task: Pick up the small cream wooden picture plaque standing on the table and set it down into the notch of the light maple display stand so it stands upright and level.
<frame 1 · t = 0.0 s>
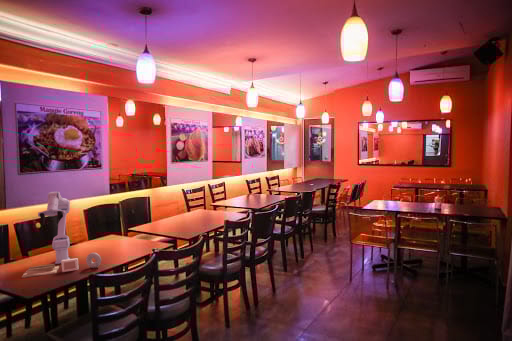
hand: (50, 223, 208), 32 cm above the table, tool tilted 50°, fingers open, 7 cm apart
notched stand: (41, 272, 216), on the table
picture plaque: (70, 270, 219), on the table
donut: (94, 268, 222), on the table
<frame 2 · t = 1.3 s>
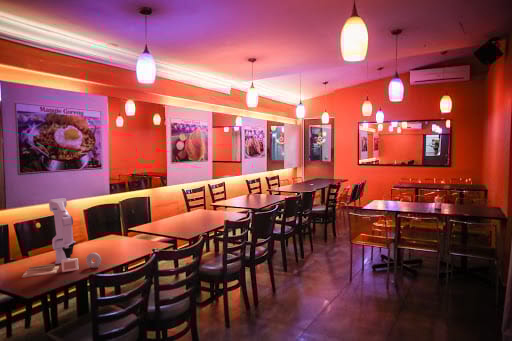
hand: (69, 256, 218), 9 cm above the table, tool pointing down, fingers open, 7 cm apart
nothing on the table moved.
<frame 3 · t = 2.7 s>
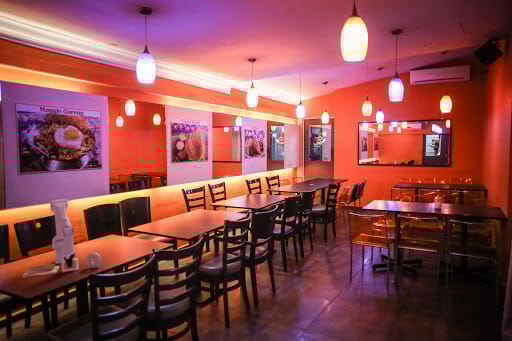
hand: (70, 266, 218), 2 cm above the table, tool pointing down, fingers closed on picture plaque, 2 cm apart
picture plaque: (70, 270, 219), on the table, touching gripper
everything else where it was.
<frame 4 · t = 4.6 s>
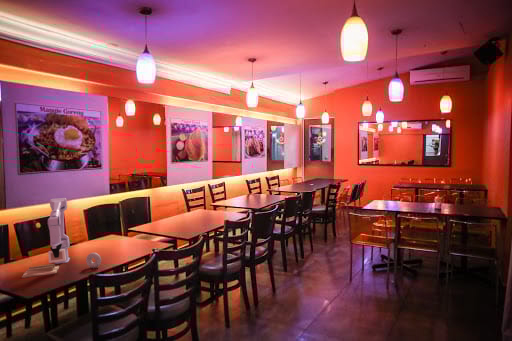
hand: (57, 256, 217), 9 cm above the table, tool pointing down, fingers closed on picture plaque, 2 cm apart
picture plaque: (57, 261, 217), point 6 cm above the table, touching gripper
everything else where it was.
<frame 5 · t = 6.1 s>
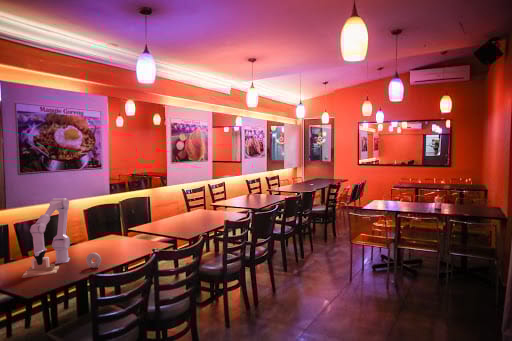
hand: (40, 263, 216), 5 cm above the table, tool pointing down, fingers closed on picture plaque, 2 cm apart
picture plaque: (41, 269, 216), point 2 cm above the table, touching gripper
everything else where it was.
when the fingers open (4 cm above the table, at t = 6.7 s): picture plaque stays where it is, resting on notched stand.
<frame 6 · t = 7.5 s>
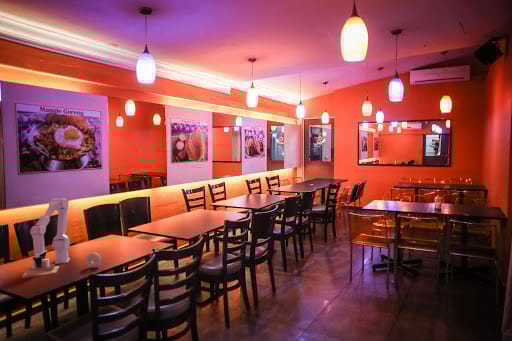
hand: (40, 265, 216), 4 cm above the table, tool pointing down, fingers open, 7 cm apart
picture plaque: (41, 270, 216), point 1 cm above the table, touching notched stand
everything else where it was.
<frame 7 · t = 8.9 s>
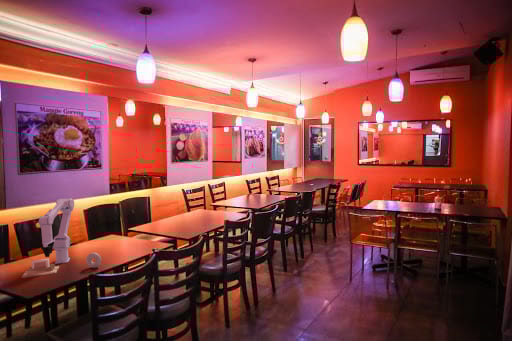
hand: (48, 255, 221), 9 cm above the table, tool pointing down, fingers open, 7 cm apart
nothing on the table moved.
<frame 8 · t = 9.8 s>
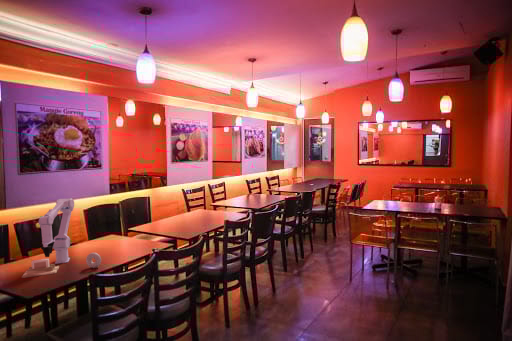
hand: (48, 255, 221), 9 cm above the table, tool pointing down, fingers open, 7 cm apart
nothing on the table moved.
at the end: picture plaque 0.0 cm off-centre on the notched stand, point 1.0 cm above the notched stand's base; picture plaque tilted 0°; the gripper is holding nothing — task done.
